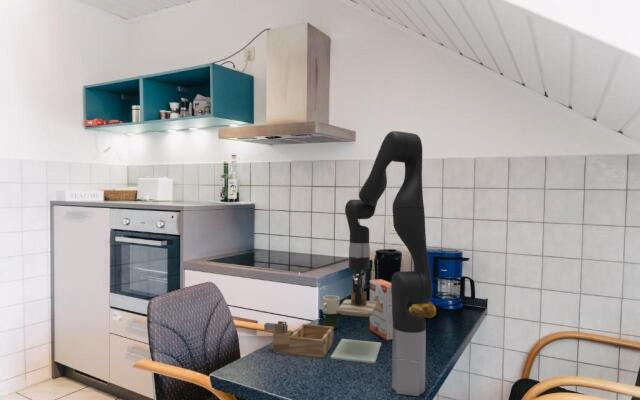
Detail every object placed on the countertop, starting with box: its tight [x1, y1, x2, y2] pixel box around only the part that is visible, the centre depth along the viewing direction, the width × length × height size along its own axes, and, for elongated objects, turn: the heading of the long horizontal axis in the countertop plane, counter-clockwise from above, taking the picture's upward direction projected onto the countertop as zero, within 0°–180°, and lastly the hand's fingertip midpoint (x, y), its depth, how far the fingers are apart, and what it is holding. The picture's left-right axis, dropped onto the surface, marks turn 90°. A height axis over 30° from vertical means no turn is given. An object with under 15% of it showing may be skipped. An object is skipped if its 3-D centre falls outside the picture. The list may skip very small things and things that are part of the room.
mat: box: [330, 338, 382, 364], centre depth 148 cm, size 19×15×1 cm
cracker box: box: [369, 278, 393, 341], centre depth 166 cm, size 14×6×21 cm, turn 21°
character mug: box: [322, 294, 341, 330], centre depth 174 cm, size 11×7×13 cm, turn 142°
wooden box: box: [272, 320, 335, 359], centre depth 150 cm, size 16×18×10 cm
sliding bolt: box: [263, 321, 289, 332], centre depth 147 cm, size 2×8×3 cm, turn 75°
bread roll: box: [408, 301, 437, 319], centre depth 194 cm, size 13×10×8 cm
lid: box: [336, 290, 378, 318], centre depth 148 cm, size 16×12×6 cm
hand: (358, 302), depth 150 cm, fingers closed on lid, 3 cm apart
